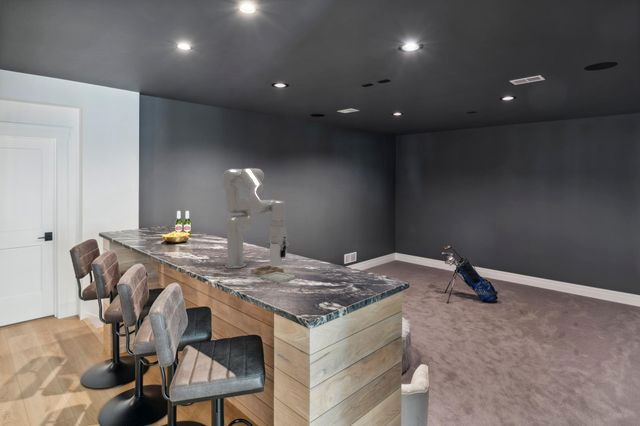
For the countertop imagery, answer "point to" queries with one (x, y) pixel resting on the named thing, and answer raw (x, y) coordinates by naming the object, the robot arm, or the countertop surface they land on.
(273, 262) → the mug
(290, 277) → the tray
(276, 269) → the holder frame
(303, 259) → the countertop surface
